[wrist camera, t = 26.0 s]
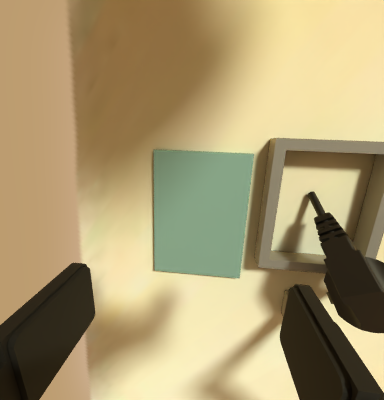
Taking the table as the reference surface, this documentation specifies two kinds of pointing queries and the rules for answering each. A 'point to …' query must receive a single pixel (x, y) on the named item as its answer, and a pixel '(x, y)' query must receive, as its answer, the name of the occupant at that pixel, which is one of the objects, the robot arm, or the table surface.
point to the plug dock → (265, 258)
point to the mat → (200, 211)
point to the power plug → (350, 275)
